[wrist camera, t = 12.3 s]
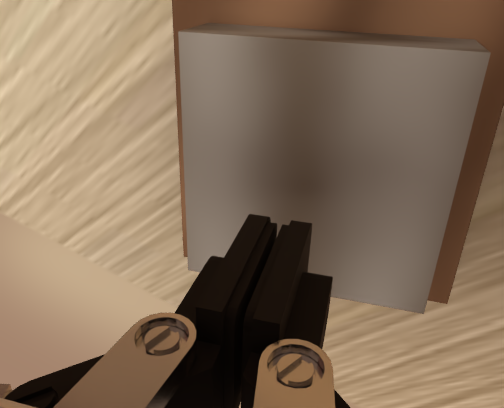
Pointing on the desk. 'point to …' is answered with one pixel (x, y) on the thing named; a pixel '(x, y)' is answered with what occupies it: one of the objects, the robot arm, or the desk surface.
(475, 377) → the desk surface
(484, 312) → the desk surface
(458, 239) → the tower pedestal
